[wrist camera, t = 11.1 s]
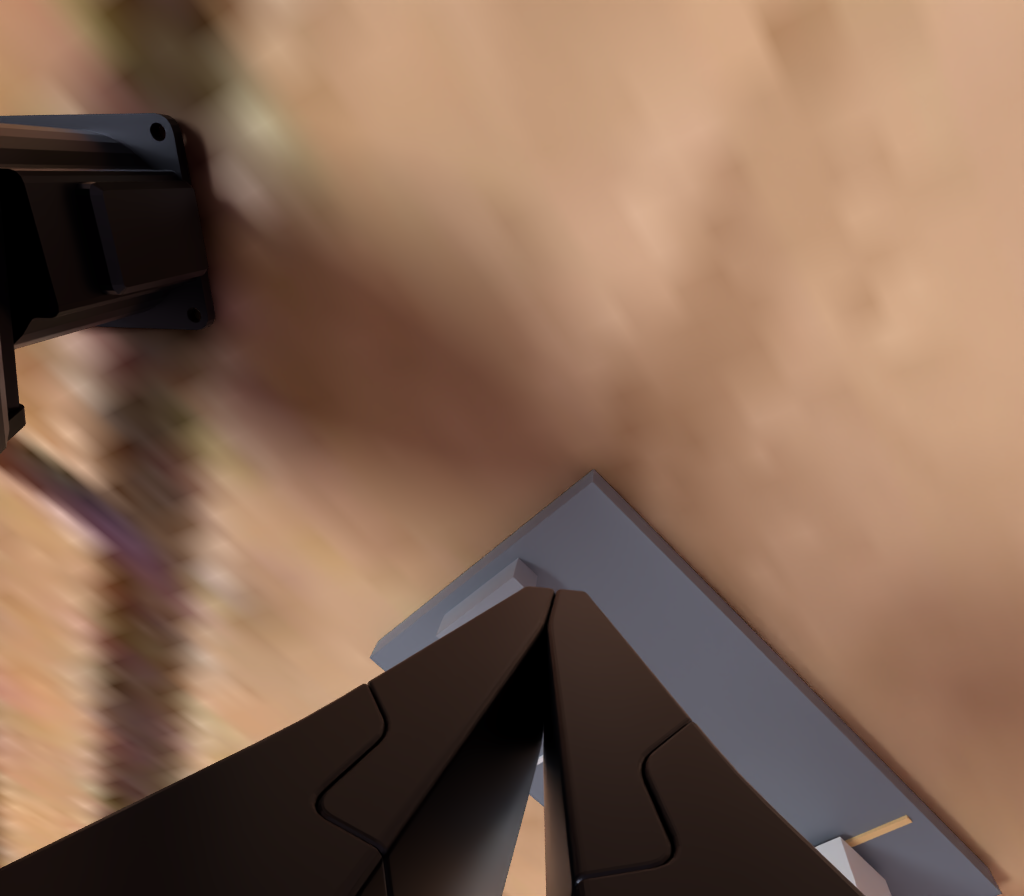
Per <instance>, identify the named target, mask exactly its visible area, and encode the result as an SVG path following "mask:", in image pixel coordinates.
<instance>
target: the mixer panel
mask: <svg viewBox="0 0 1024 896" xmlns="http://www.w3.org/2000/svg"><path fill="white" fill-rule="evenodd" d="M527 586H533V587H544V588H551V589H553V590H554V592H555V594H556V592H557V590H559V589H566V590H577V591H584V592H586V593H587V594H588V595H589V596H590V598H591V599H592V600H593V601H594V602H595V604H596V605H597V606H598V607H599V608H600V610H601V611H602V612H603V613H604V614H605V616H606V617H607V618H608V619H609V620H610V622H611V623H612V624H613V625H614V626H615V628H616V629H617V630H618V631H619V633H620V634H621V635H622V636H623V637H624V639H625V640H626V641H627V642H628V643H629V645H630V646H631V647H632V648H633V649H634V651H635V652H636V653H637V654H638V655H639V657H640V658H641V659H642V660H643V661H644V663H645V664H646V665H647V666H648V667H649V669H650V670H651V671H652V672H653V673H654V675H655V676H656V677H657V678H658V680H659V681H660V682H661V683H662V684H663V686H664V687H665V688H666V689H667V690H668V692H669V693H670V694H671V695H672V696H673V698H674V699H675V700H676V701H677V702H678V704H679V705H680V706H681V707H682V708H683V710H684V711H685V712H686V713H687V714H688V716H689V717H690V718H691V719H692V721H693V722H694V723H696V724H697V725H698V726H699V727H700V728H701V730H702V731H703V732H704V733H705V734H706V736H707V737H708V738H709V739H710V740H711V742H712V743H713V744H714V745H715V746H716V747H717V748H718V750H719V751H720V752H721V753H722V754H723V755H724V756H725V757H726V759H727V760H728V761H729V762H730V763H731V764H732V765H733V766H734V768H735V769H736V770H737V771H738V772H739V773H740V774H741V775H742V776H743V777H744V778H745V779H746V780H747V781H748V782H749V783H750V784H751V785H752V786H753V787H754V788H755V789H756V790H757V791H758V792H759V794H760V795H761V796H762V797H763V798H764V799H765V800H766V801H767V802H768V803H769V804H770V805H771V806H772V807H773V808H774V809H775V810H776V811H777V812H778V813H779V814H780V815H781V816H782V817H784V818H785V819H786V820H787V821H788V822H789V823H790V824H791V825H792V826H793V827H794V828H795V829H796V830H797V831H798V832H799V833H800V834H801V835H802V836H803V837H804V838H805V839H807V840H808V841H809V842H810V843H811V844H812V845H813V846H814V847H816V846H819V845H821V844H824V843H826V842H828V841H831V840H833V839H835V838H838V837H841V838H842V839H843V840H844V841H845V842H846V843H847V844H848V845H849V846H851V847H852V848H853V849H854V850H855V851H856V852H857V853H858V854H859V855H860V856H861V857H862V858H863V859H864V860H865V861H866V862H867V863H868V864H869V865H870V866H871V867H872V868H874V869H875V870H876V871H877V872H878V873H879V874H880V875H881V876H882V877H883V878H884V879H885V880H886V883H887V885H888V888H889V891H890V893H891V896H997V895H1000V894H1002V893H1001V891H1000V889H999V887H998V885H997V883H996V881H995V879H994V878H993V876H992V874H991V872H990V870H989V868H988V867H987V866H986V865H985V864H984V863H983V862H982V861H981V860H980V859H979V858H978V857H977V856H976V855H975V854H974V853H973V852H972V851H971V850H970V849H969V848H968V847H967V846H966V845H965V844H964V843H963V842H962V841H961V840H960V839H959V838H958V837H957V836H956V835H955V834H954V833H953V832H952V831H951V830H950V829H949V828H948V827H947V826H946V825H945V824H944V823H943V822H942V821H941V820H940V819H939V818H938V817H937V816H936V815H935V814H934V813H933V812H932V811H931V810H930V809H929V808H928V807H927V806H926V805H925V804H924V803H923V802H922V801H921V800H920V799H919V798H918V797H917V796H916V795H915V794H914V793H913V792H912V791H911V790H910V789H909V788H908V786H907V785H906V784H905V783H904V782H903V781H902V780H901V779H900V778H899V777H898V776H897V775H896V774H895V773H894V772H893V771H892V770H891V769H890V768H889V767H888V766H887V765H886V764H885V763H884V762H883V761H882V760H881V759H880V758H879V757H878V756H877V755H876V754H875V753H874V752H873V751H872V750H871V749H870V748H869V747H868V746H867V745H866V744H865V743H864V742H863V741H862V740H861V739H860V738H859V737H858V736H857V735H856V734H855V733H854V732H853V731H852V730H851V729H850V728H849V727H848V726H847V725H846V724H845V723H844V722H843V721H842V720H841V719H840V718H839V717H838V716H837V715H836V714H835V713H834V712H833V711H832V710H831V709H830V708H829V707H828V706H827V705H826V704H825V703H824V702H823V700H822V699H821V698H820V697H819V696H818V695H817V694H816V693H815V692H814V691H813V690H812V689H811V688H810V687H809V686H808V685H807V684H806V683H805V682H804V681H803V680H802V679H801V678H800V677H799V676H798V675H797V674H796V673H795V672H794V671H793V670H792V669H791V668H790V667H789V666H788V665H787V664H786V663H785V662H784V661H783V660H782V659H781V658H780V657H779V656H778V655H777V654H776V653H775V652H774V651H773V650H772V649H771V648H770V647H769V646H768V645H767V644H766V643H765V642H764V641H763V640H762V639H761V638H760V637H759V636H758V635H757V634H756V633H755V632H754V631H753V630H752V629H751V628H750V627H749V626H748V625H747V624H746V623H745V622H744V621H743V620H742V619H741V618H740V617H739V616H738V614H737V613H736V612H735V611H734V610H733V609H732V608H731V607H730V606H729V605H728V604H727V603H726V602H725V601H724V600H723V599H722V598H721V597H720V596H719V595H718V594H717V593H716V592H715V591H714V590H713V589H712V588H711V587H710V586H709V585H708V584H707V583H706V582H705V581H704V580H703V579H702V578H701V577H700V576H699V575H698V574H697V573H696V572H695V571H694V570H693V569H692V568H691V567H690V566H689V565H688V564H687V563H686V562H685V561H684V560H683V559H682V558H681V557H680V556H679V555H678V554H677V553H676V552H675V551H674V550H673V549H672V548H671V547H670V546H669V545H668V544H667V543H666V542H665V541H664V540H663V539H662V538H661V537H660V536H659V535H658V534H657V533H656V532H655V531H654V530H653V528H652V527H651V526H650V525H649V524H648V523H647V522H646V521H645V520H644V519H643V518H642V517H641V516H640V515H639V514H638V513H637V512H636V511H635V510H634V509H633V508H632V507H631V506H630V505H629V504H628V503H627V502H626V501H625V500H624V499H623V498H622V497H621V496H620V495H619V494H618V493H617V492H616V491H615V490H614V489H613V488H612V487H611V486H610V485H609V484H608V483H607V482H606V481H605V480H604V479H603V478H602V477H601V476H600V475H599V474H598V473H597V472H596V471H595V470H594V469H593V470H592V471H591V472H589V473H588V474H587V475H586V476H584V477H583V478H582V479H581V480H579V481H578V482H577V483H575V484H574V485H573V486H572V487H570V488H569V489H568V490H567V491H565V492H564V493H563V494H562V495H560V496H559V497H558V498H557V499H555V500H554V501H553V502H552V503H550V504H549V505H548V506H547V507H545V508H544V509H543V510H542V511H540V512H539V513H538V514H537V515H535V516H534V517H533V518H532V519H530V520H529V521H528V522H527V523H525V524H524V525H523V526H522V527H520V528H519V529H518V530H517V531H515V532H514V533H513V534H512V535H510V536H509V537H508V538H507V539H505V540H504V541H503V542H502V543H500V544H499V545H498V546H497V547H495V548H494V549H493V550H492V551H490V552H489V553H488V554H487V555H485V556H484V557H483V558H482V559H480V560H479V561H478V562H477V563H475V564H474V565H473V566H472V567H470V568H469V569H468V570H467V571H465V572H464V573H463V574H462V575H460V576H459V577H458V578H457V579H455V580H454V581H453V582H452V583H450V584H449V585H448V586H447V587H445V588H444V589H443V590H442V591H440V592H439V593H438V594H437V595H435V596H434V597H433V598H432V599H430V600H429V601H428V602H427V603H425V604H424V605H423V606H422V607H420V608H419V609H418V610H417V611H415V612H414V613H413V614H412V615H410V616H409V617H408V618H407V619H405V620H404V621H403V622H402V623H400V624H399V625H398V626H397V627H395V628H394V629H393V630H392V631H390V632H389V633H388V634H387V635H385V636H384V637H383V638H382V639H380V640H379V641H378V643H377V645H376V647H375V648H374V650H373V652H372V654H371V656H370V659H372V660H373V661H374V662H375V663H376V664H377V665H379V666H380V667H381V668H382V669H383V670H384V671H387V670H389V669H390V668H392V667H394V666H395V665H397V664H399V663H400V662H402V661H404V660H405V659H407V658H409V657H410V656H412V655H414V654H415V653H417V652H418V651H420V650H422V649H423V648H425V647H427V646H428V645H430V644H432V643H433V642H435V641H437V640H438V639H440V638H442V637H443V636H445V635H447V634H448V633H450V632H452V631H453V630H455V629H456V628H458V627H460V626H461V625H463V624H465V623H466V622H468V621H470V620H471V619H473V618H475V617H476V616H478V615H480V614H481V613H483V612H485V611H486V610H488V609H490V608H491V607H493V606H495V605H496V604H498V603H499V602H501V601H503V600H504V599H506V598H508V597H509V596H511V595H513V594H514V593H516V592H518V591H519V590H521V589H523V588H524V587H527ZM543 736H544V733H543ZM529 795H531V796H532V797H533V798H534V799H535V800H537V801H538V802H539V803H540V804H541V805H542V806H544V779H543V740H542V746H541V750H540V754H539V759H538V763H537V766H536V770H535V774H534V778H533V781H532V785H531V789H530V793H529Z"/></svg>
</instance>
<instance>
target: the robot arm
mask: <svg viewBox="0 0 1024 896" xmlns="http://www.w3.org/2000/svg"><path fill="white" fill-rule="evenodd" d="M160 125H162V126H163V127H164V129H165V131H166V137H165V139H164V140H163V139H162V138H161V137H160V135H159V127H160ZM207 269H208V263H207V257H206V252H205V246H204V241H203V235H202V230H201V224H200V219H199V214H198V208H197V203H196V197H195V192H194V189H193V188H192V187H191V182H190V176H189V171H188V166H187V160H186V155H185V149H184V144H183V138H182V133H181V130H180V127H179V125H178V124H177V122H176V121H175V120H174V119H173V118H171V117H170V116H168V115H163V114H156V113H142V114H84V115H25V116H0V453H1V452H2V451H3V450H4V449H5V448H6V446H7V441H8V440H10V439H11V438H12V437H13V436H14V435H15V434H16V433H17V432H18V431H19V430H20V429H22V428H23V427H24V426H25V424H26V422H25V411H24V406H23V405H22V404H19V396H18V385H17V374H16V363H15V352H14V349H17V348H21V347H24V346H28V345H31V344H35V343H38V342H42V341H45V340H48V339H52V338H55V337H59V336H62V335H66V334H69V333H73V332H76V331H79V330H83V329H86V328H90V327H93V326H100V327H129V328H157V329H186V330H199V329H203V328H206V327H209V326H210V325H211V324H213V322H214V319H215V312H214V306H213V301H212V296H211V290H210V285H209V279H208V274H207ZM195 308H196V309H198V310H199V311H200V314H201V320H200V319H198V318H197V317H196V316H195V313H194V309H195ZM543 733H544V736H543ZM542 740H543V779H544V821H545V862H546V896H865V895H864V894H863V893H862V892H861V891H860V890H859V889H858V888H857V887H856V886H855V885H854V884H853V883H851V882H850V881H849V880H848V879H847V878H846V877H845V876H844V875H843V874H842V873H841V872H840V871H839V870H838V869H837V868H836V867H835V866H834V865H833V864H832V863H831V862H830V861H828V860H827V859H826V858H825V857H824V856H823V855H822V854H821V853H820V852H819V851H818V850H817V849H816V848H815V847H814V846H813V845H812V844H811V843H810V842H809V841H808V840H807V839H805V838H804V837H803V836H802V835H801V834H800V833H799V832H798V831H797V830H796V829H795V828H794V827H793V826H792V825H791V824H790V823H789V822H788V821H787V820H786V819H785V818H784V817H782V816H781V815H780V814H779V813H778V812H777V811H776V810H775V809H774V808H773V807H772V806H771V805H770V804H769V803H768V802H767V801H766V800H765V799H764V798H763V797H762V796H761V795H760V794H759V792H758V791H757V790H756V789H755V788H754V787H753V786H752V785H751V784H750V783H749V782H748V781H747V780H746V779H745V778H744V777H743V776H742V775H741V774H740V773H739V772H738V771H737V770H736V769H735V768H734V766H733V765H732V764H731V763H730V762H729V761H728V760H727V759H726V757H725V756H724V755H723V754H722V753H721V752H720V751H719V750H718V748H717V747H716V746H715V745H714V744H713V743H712V742H711V740H710V739H709V738H708V737H707V736H706V734H705V733H704V732H703V731H702V730H701V728H700V727H699V726H698V725H697V724H696V723H694V722H693V721H692V719H691V718H690V717H689V716H688V714H687V713H686V712H685V711H684V710H683V708H682V707H681V706H680V705H679V704H678V702H677V701H676V700H675V699H674V698H673V696H672V695H671V694H670V693H669V692H668V690H667V689H666V688H665V687H664V686H663V684H662V683H661V682H660V681H659V680H658V678H657V677H656V676H655V675H654V673H653V672H652V671H651V670H650V669H649V667H648V666H647V665H646V664H645V663H644V661H643V660H642V659H641V658H640V657H639V655H638V654H637V653H636V652H635V651H634V649H633V648H632V647H631V646H630V645H629V643H628V642H627V641H626V640H625V639H624V637H623V636H622V635H621V634H620V633H619V631H618V630H617V629H616V628H615V626H614V625H613V624H612V623H611V622H610V620H609V619H608V618H607V617H606V616H605V614H604V613H603V612H602V611H601V610H600V608H599V607H598V606H597V605H596V604H595V602H594V601H593V600H592V599H591V598H590V596H589V595H588V594H587V593H586V592H584V591H577V590H566V589H559V590H557V592H556V594H555V592H554V590H553V589H551V588H544V587H533V586H527V587H524V588H523V589H521V590H519V591H518V592H516V593H514V594H513V595H511V596H509V597H508V598H506V599H504V600H503V601H501V602H499V603H498V604H496V605H495V606H493V607H491V608H490V609H488V610H486V611H485V612H483V613H481V614H480V615H478V616H476V617H475V618H473V619H471V620H470V621H468V622H466V623H465V624H463V625H461V626H460V627H458V628H456V629H455V630H453V631H452V632H450V633H448V634H447V635H445V636H443V637H442V638H440V639H438V640H437V641H435V642H433V643H432V644H430V645H428V646H427V647H425V648H423V649H422V650H420V651H418V652H417V653H415V654H414V655H412V656H410V657H409V658H407V659H405V660H404V661H402V662H400V663H399V664H397V665H395V666H394V667H392V668H390V669H389V670H387V671H385V672H384V673H382V674H380V675H379V676H377V677H376V678H374V679H372V680H371V681H369V682H368V684H362V685H360V686H359V687H357V688H355V689H354V690H352V691H350V692H349V693H347V694H345V695H344V696H342V697H340V698H339V699H337V700H335V701H333V702H331V703H330V704H328V705H326V706H324V707H323V708H321V709H319V710H317V711H316V712H314V713H312V714H310V715H309V716H307V717H305V718H303V719H302V720H300V721H298V722H296V723H294V724H292V725H290V726H288V727H286V728H284V729H282V730H280V731H278V732H276V733H274V734H272V735H270V736H269V737H267V738H265V739H263V740H261V741H259V742H257V743H255V744H253V745H251V746H249V747H247V748H245V749H243V750H241V751H239V752H237V753H235V754H233V755H230V756H228V757H226V758H224V759H222V760H220V761H218V762H216V763H214V764H212V765H210V766H208V767H206V768H204V769H202V770H200V771H198V772H196V773H194V774H192V775H190V776H188V777H186V778H184V779H182V780H180V781H177V782H175V783H173V784H171V785H169V786H167V787H165V788H163V789H161V790H159V791H157V792H155V793H153V794H151V795H149V796H147V797H145V798H143V799H141V800H139V801H137V802H135V803H133V804H131V805H129V806H127V807H124V808H122V809H120V810H118V811H116V812H114V813H112V814H110V815H108V816H106V817H104V818H102V819H100V820H98V821H96V822H94V823H92V824H90V825H88V826H86V827H84V828H82V829H80V830H78V831H76V832H74V833H71V834H69V835H67V836H65V837H63V838H61V839H59V840H57V841H55V842H53V843H51V844H49V845H47V846H45V847H43V848H41V849H39V850H37V851H35V852H33V853H31V854H29V855H27V856H25V857H23V858H21V859H18V860H16V861H14V862H12V863H10V864H8V865H6V866H4V867H2V868H0V896H502V893H503V889H504V886H505V882H506V878H507V875H508V871H509V867H510V863H511V860H512V856H513V852H514V848H515V845H516V841H517V837H518V834H519V830H520V826H521V822H522V819H523V815H524V811H525V807H526V804H527V800H528V796H529V793H530V789H531V785H532V781H533V778H534V774H535V770H536V766H537V763H538V759H539V754H540V750H541V746H542Z"/></svg>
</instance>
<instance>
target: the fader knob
mask: <svg viewBox="0 0 1024 896" xmlns="http://www.w3.org/2000/svg"><path fill="white" fill-rule="evenodd" d="M815 848H816V849H817V850H818V851H819V852H820V853H821V854H822V855H823V856H824V857H825V858H826V859H827V860H828V861H830V862H831V863H832V864H833V865H834V866H835V867H836V868H837V869H838V870H839V871H840V872H841V873H842V874H843V875H844V876H845V877H846V878H847V879H848V880H849V881H850V882H851V883H853V884H854V885H855V886H856V887H857V888H858V889H859V890H860V891H861V892H862V893H863V894H864V895H865V896H891V893H890V891H889V888H888V885H887V883H886V880H885V879H884V878H883V877H882V876H881V875H880V874H879V873H878V872H877V871H876V870H875V869H874V868H872V867H871V866H870V865H869V864H868V863H867V862H866V861H865V860H864V859H863V858H862V857H861V856H860V855H859V854H858V853H857V852H856V851H855V850H854V849H853V848H852V847H851V846H849V845H848V844H847V843H846V842H845V841H844V840H843V839H842V838H841V837H838V838H835V839H833V840H831V841H828V842H826V843H824V844H821V845H819V846H816V847H815Z"/></svg>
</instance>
